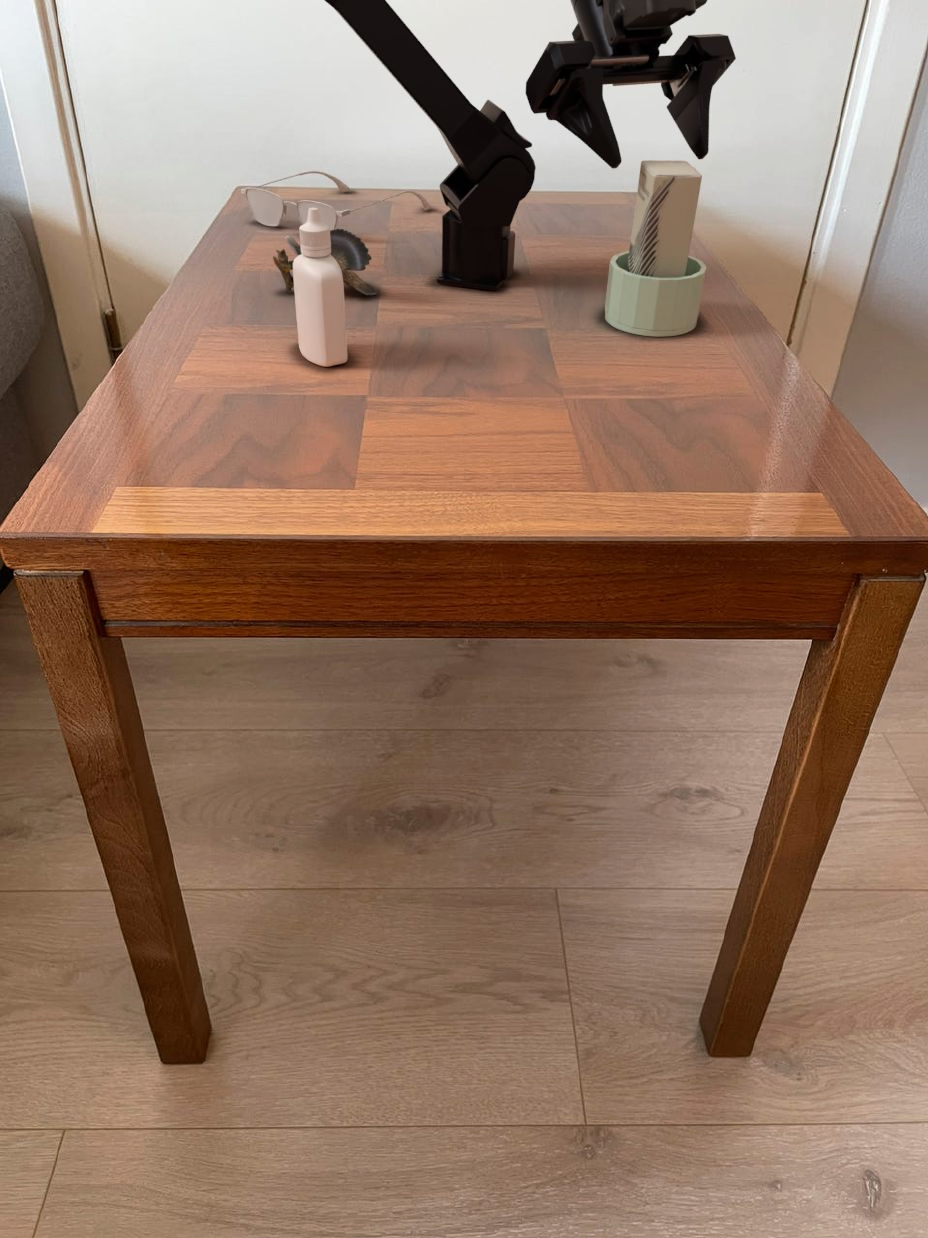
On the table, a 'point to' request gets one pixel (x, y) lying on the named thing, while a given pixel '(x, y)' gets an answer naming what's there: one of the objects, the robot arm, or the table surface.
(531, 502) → the table surface
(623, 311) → the bowl
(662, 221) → the box
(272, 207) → the eyeglasses
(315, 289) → the eye dropper bottle
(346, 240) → the brown grey figurine
